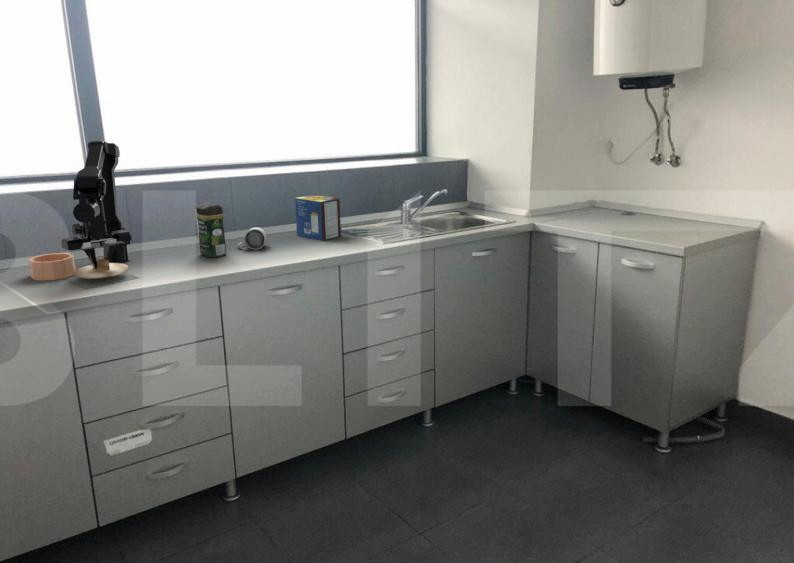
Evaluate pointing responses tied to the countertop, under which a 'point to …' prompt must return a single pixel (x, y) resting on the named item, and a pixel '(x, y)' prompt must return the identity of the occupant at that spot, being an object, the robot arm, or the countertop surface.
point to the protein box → (318, 217)
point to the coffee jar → (211, 229)
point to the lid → (101, 269)
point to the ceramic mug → (254, 239)
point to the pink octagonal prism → (52, 266)
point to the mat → (101, 280)
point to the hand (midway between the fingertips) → (101, 267)
